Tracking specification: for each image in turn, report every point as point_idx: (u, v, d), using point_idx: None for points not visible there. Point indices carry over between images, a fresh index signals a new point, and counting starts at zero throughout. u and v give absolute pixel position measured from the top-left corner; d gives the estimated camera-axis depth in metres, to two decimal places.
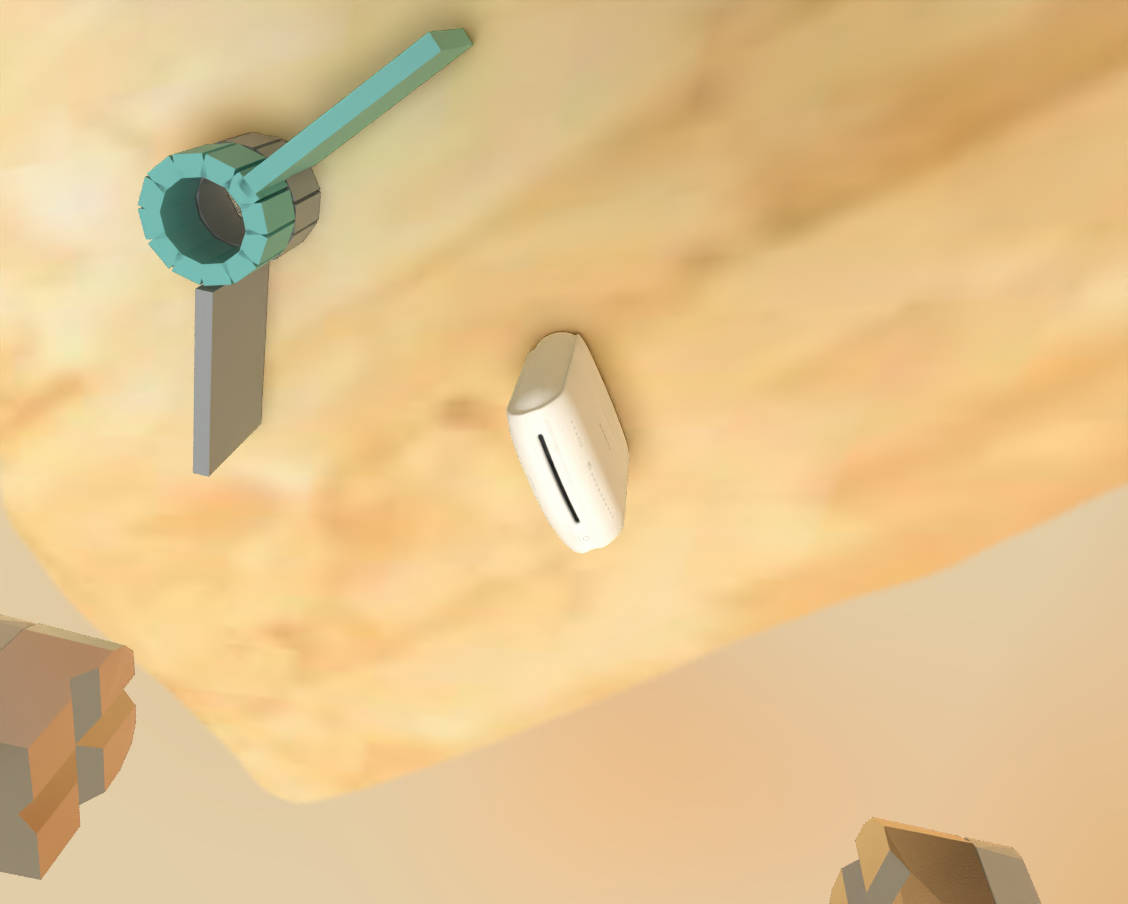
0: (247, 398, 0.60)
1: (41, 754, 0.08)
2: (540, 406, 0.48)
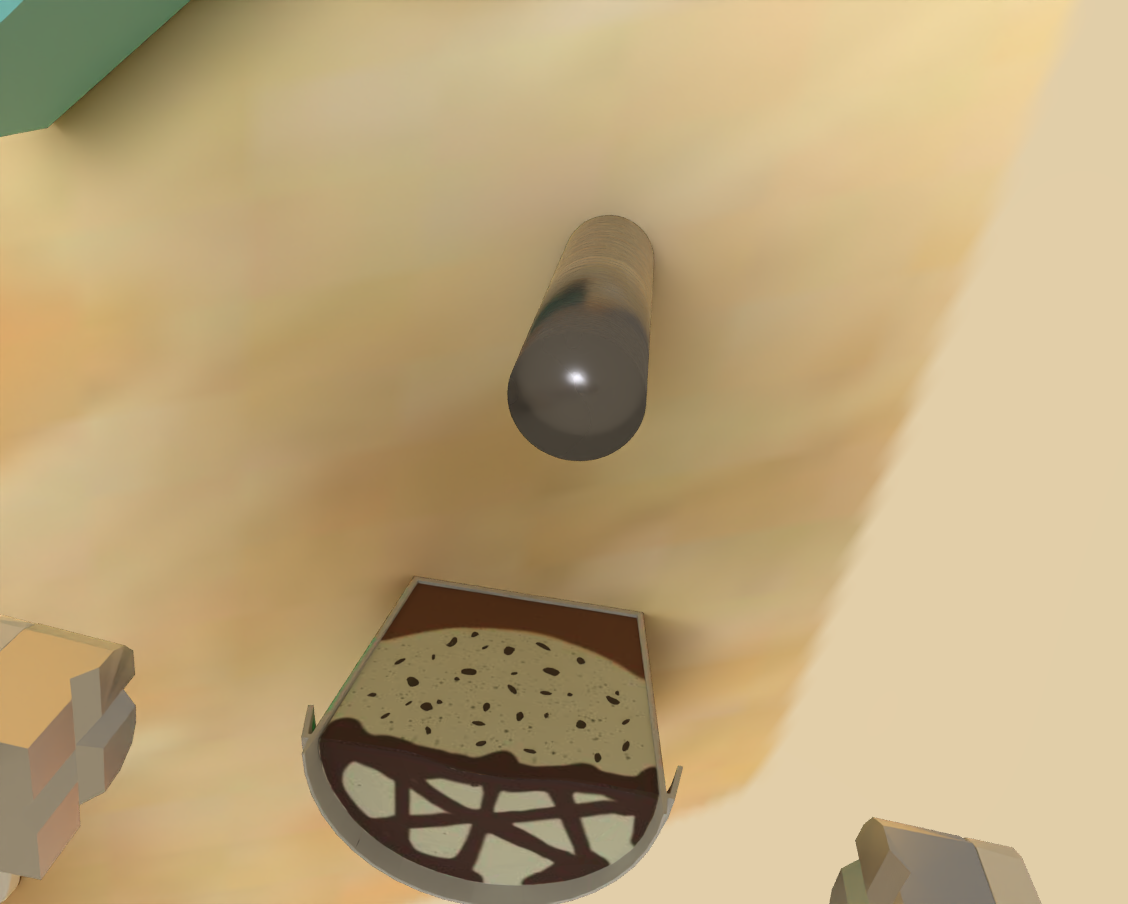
0: None
1: (41, 754, 0.08)
2: None
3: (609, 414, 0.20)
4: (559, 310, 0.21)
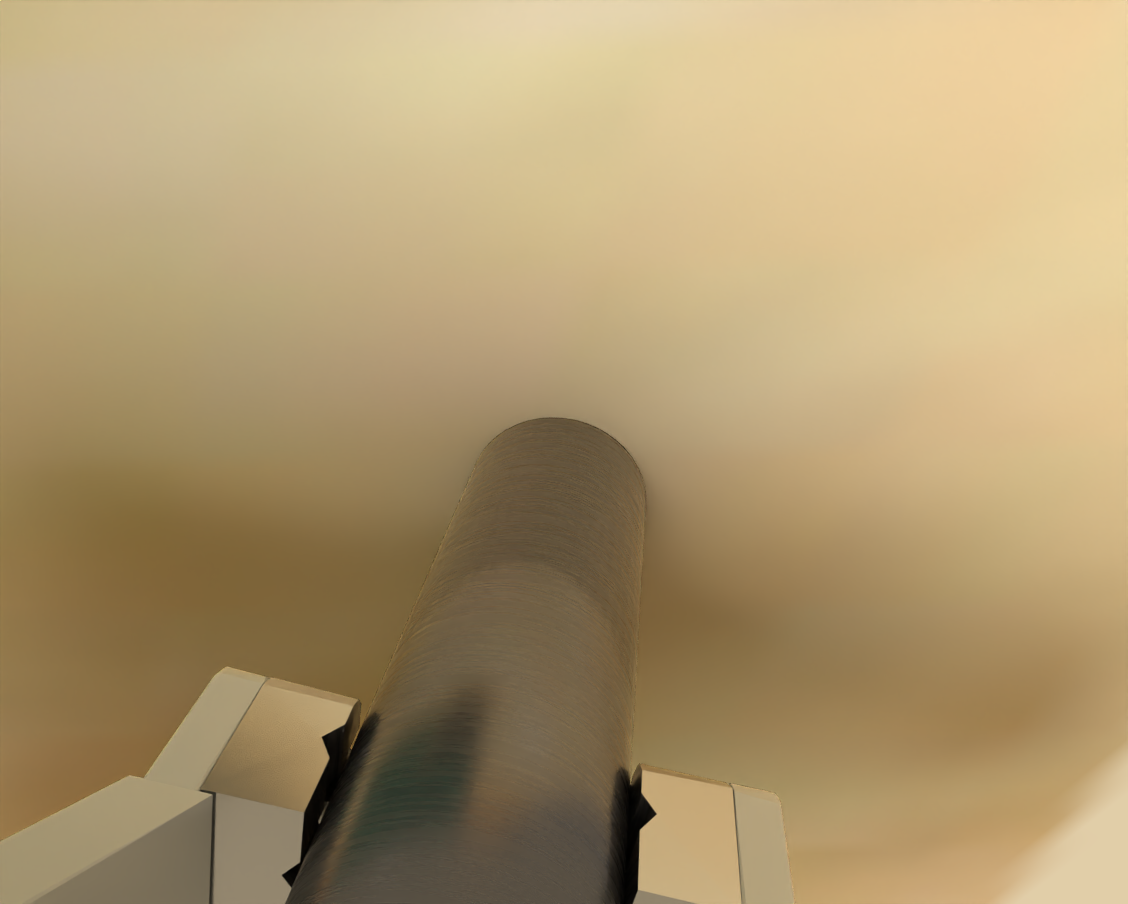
0: None
1: (308, 816, 0.08)
2: None
3: None
4: None
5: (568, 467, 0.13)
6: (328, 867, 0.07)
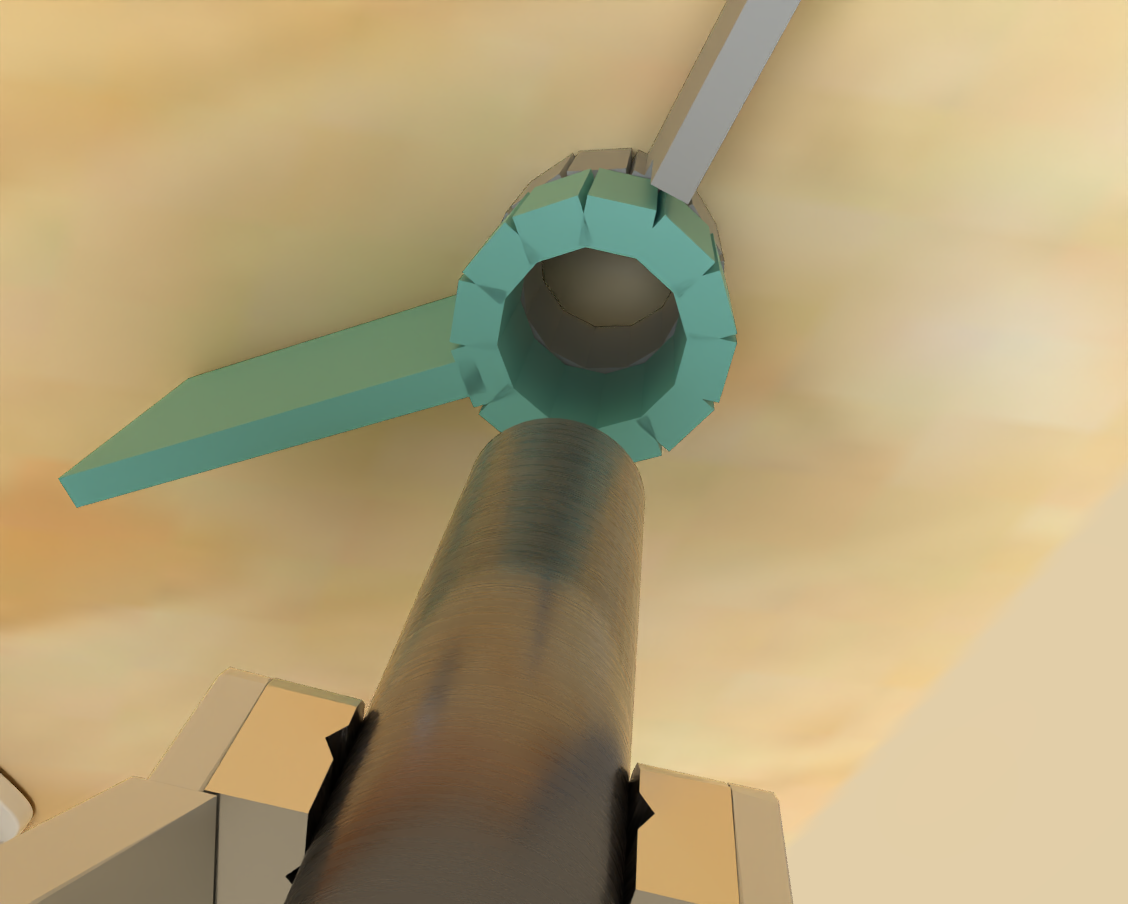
0: None
1: (312, 817, 0.08)
2: None
3: None
4: None
5: (567, 467, 0.13)
6: (327, 868, 0.07)
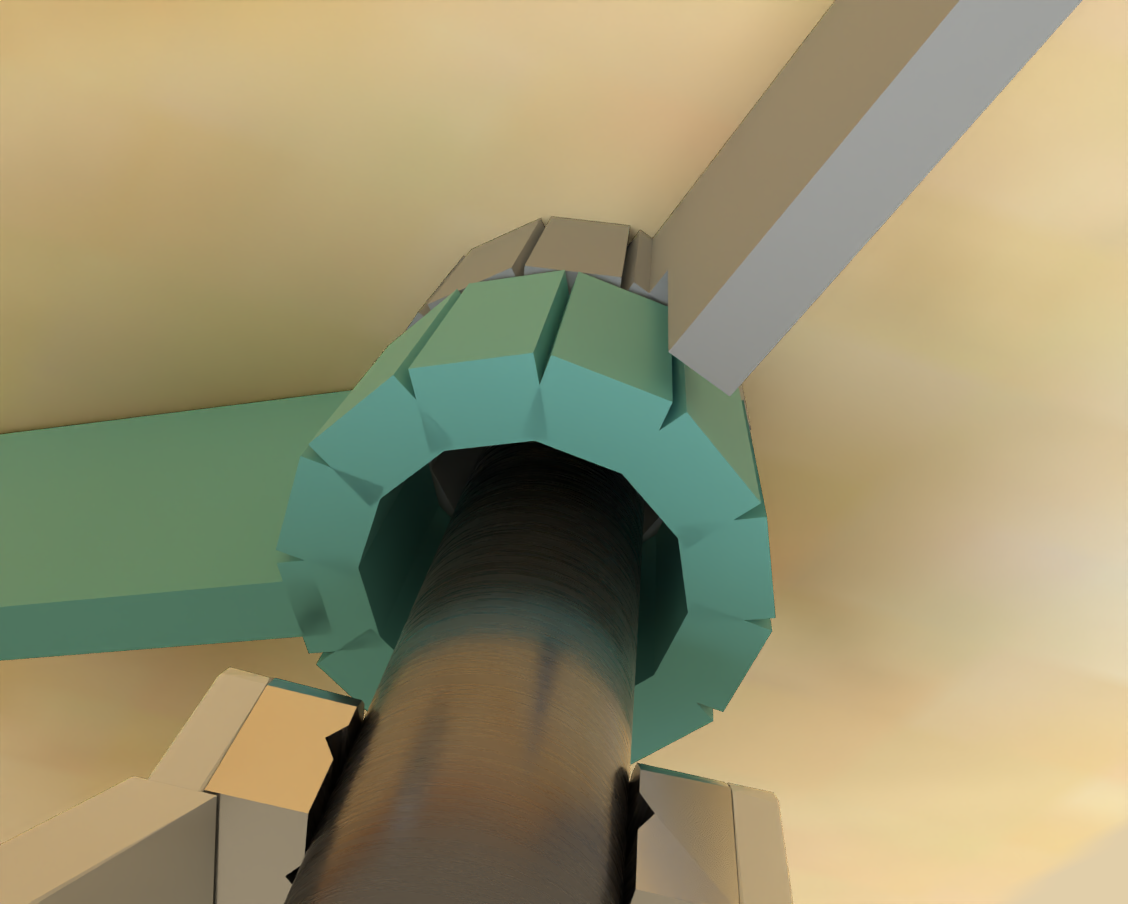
0: None
1: (312, 816, 0.08)
2: None
3: None
4: None
5: (567, 467, 0.13)
6: (327, 868, 0.07)
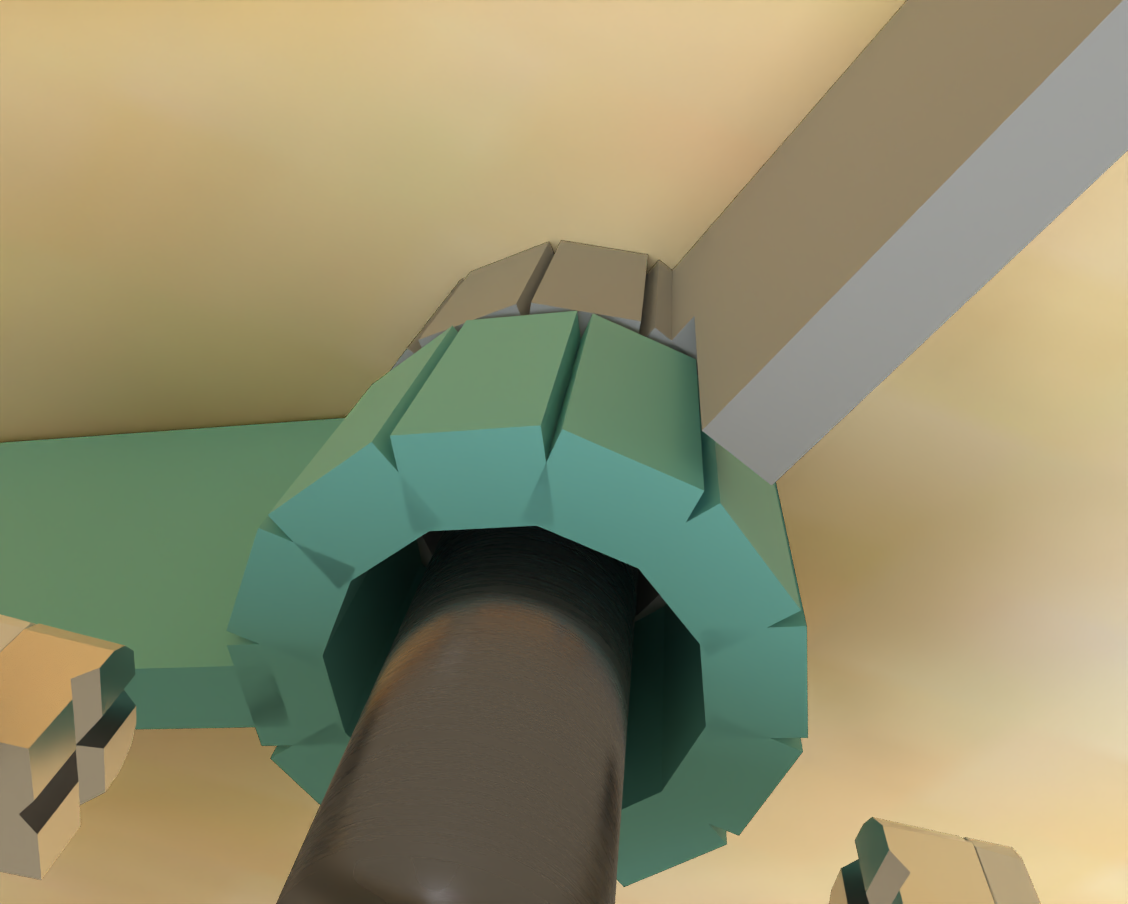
0: None
1: (42, 754, 0.08)
2: None
3: None
4: (430, 702, 0.09)
5: None
6: (425, 614, 0.11)
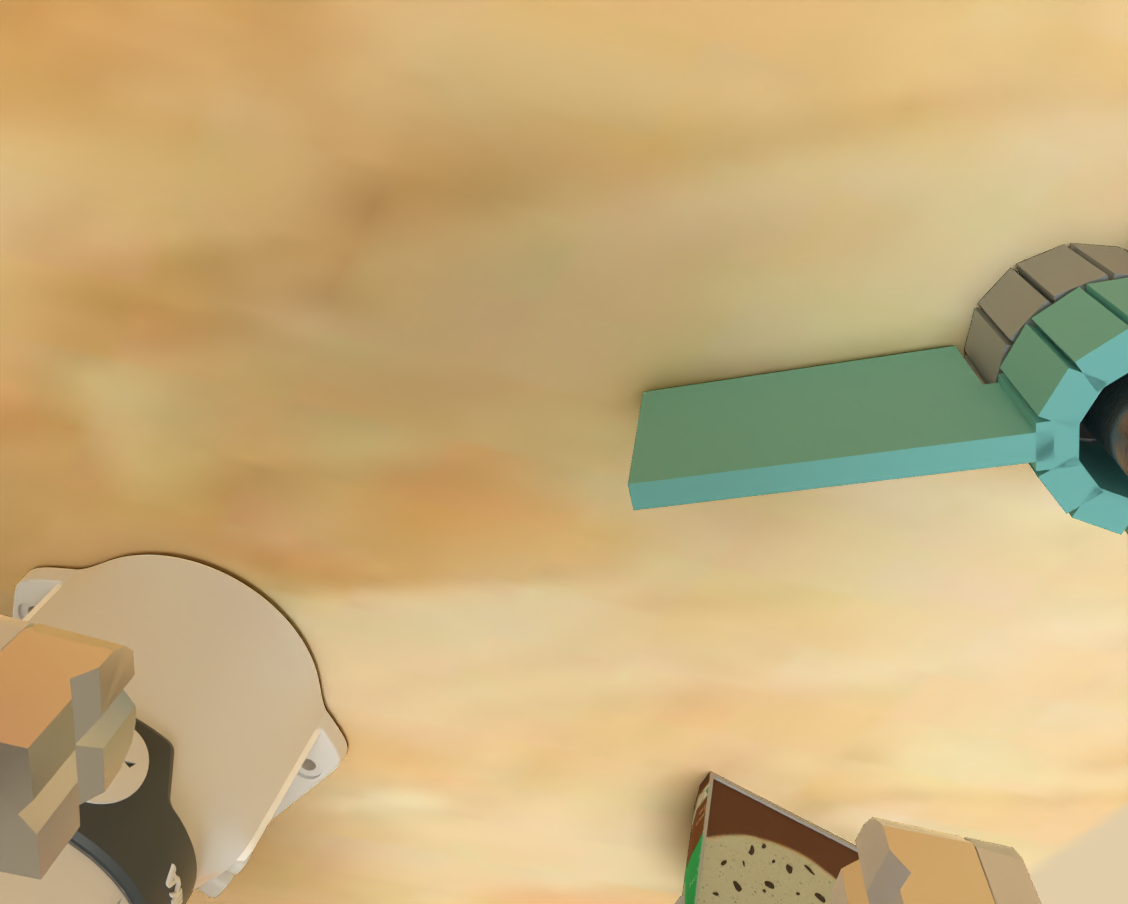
0: None
1: (41, 754, 0.08)
2: None
3: None
4: None
5: None
6: None
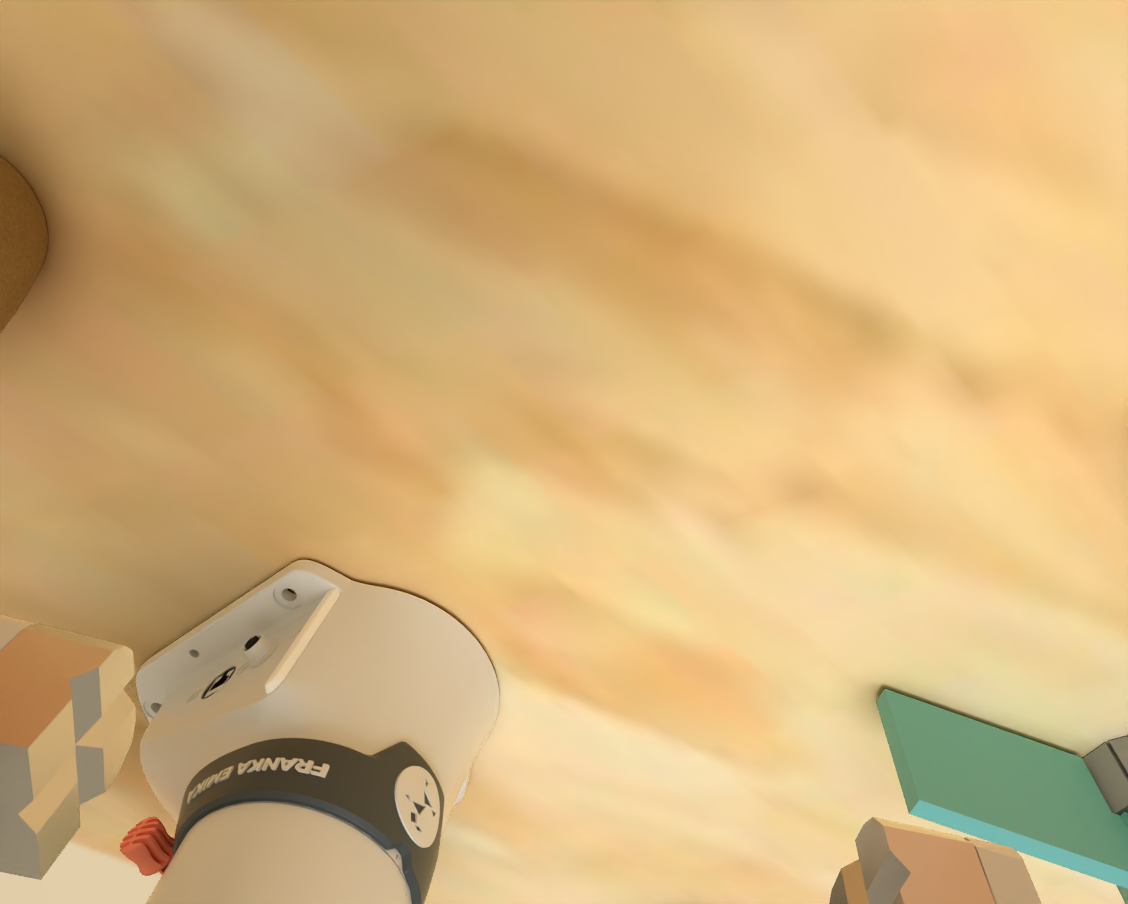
0: None
1: (40, 754, 0.08)
2: None
3: None
4: None
5: None
6: None
